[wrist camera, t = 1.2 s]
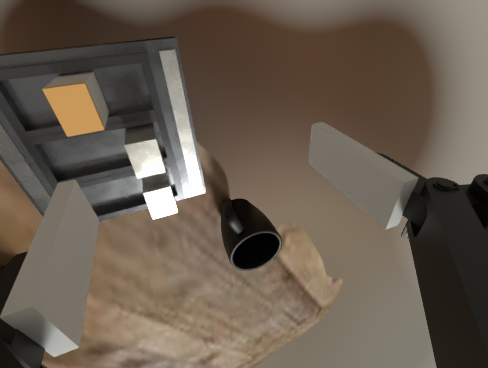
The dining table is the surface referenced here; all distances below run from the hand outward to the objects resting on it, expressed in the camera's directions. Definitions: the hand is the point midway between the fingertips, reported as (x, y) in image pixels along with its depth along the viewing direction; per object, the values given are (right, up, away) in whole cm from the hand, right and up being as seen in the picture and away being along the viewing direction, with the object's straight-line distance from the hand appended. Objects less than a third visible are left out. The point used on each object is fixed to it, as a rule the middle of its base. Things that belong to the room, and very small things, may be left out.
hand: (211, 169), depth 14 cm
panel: (-14, +4, +15) cm, 21 cm away
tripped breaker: (-14, +8, +11) cm, 19 cm away
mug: (0, -4, +28) cm, 28 cm away
